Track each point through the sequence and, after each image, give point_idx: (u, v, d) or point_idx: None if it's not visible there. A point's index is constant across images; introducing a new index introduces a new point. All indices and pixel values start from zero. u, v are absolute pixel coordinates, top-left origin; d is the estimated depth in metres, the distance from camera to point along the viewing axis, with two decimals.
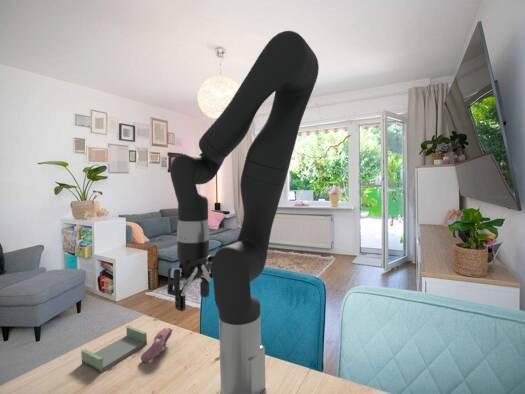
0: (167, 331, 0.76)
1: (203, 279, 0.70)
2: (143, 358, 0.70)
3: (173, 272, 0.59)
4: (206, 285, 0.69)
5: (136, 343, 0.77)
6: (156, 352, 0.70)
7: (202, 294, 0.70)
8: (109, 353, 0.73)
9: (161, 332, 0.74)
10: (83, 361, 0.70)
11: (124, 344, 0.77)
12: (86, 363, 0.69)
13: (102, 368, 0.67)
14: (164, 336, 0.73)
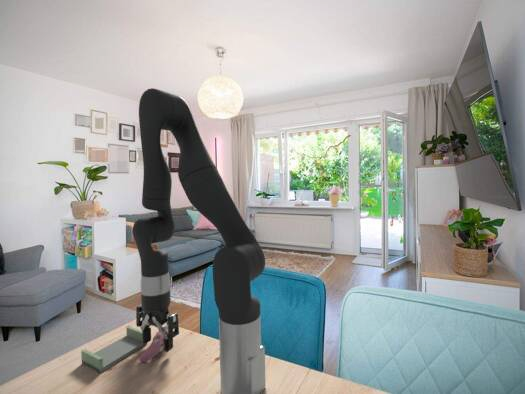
0: (166, 331, 0.75)
1: (146, 327, 0.77)
2: (141, 358, 0.70)
3: (175, 316, 0.72)
4: (150, 329, 0.78)
5: (136, 343, 0.77)
6: (154, 352, 0.70)
7: (146, 341, 0.77)
8: (109, 353, 0.73)
9: (160, 332, 0.74)
10: (83, 361, 0.70)
11: (124, 344, 0.77)
12: (86, 363, 0.69)
13: (102, 368, 0.67)
14: (163, 336, 0.73)
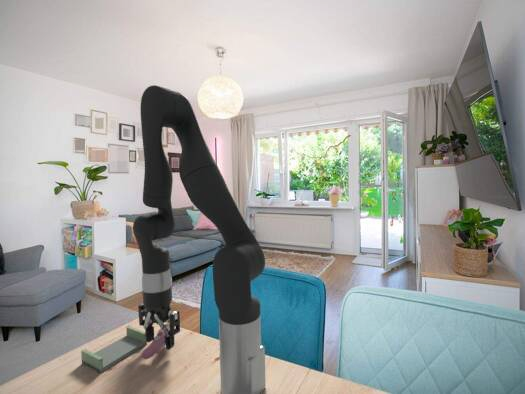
0: (168, 328, 0.75)
1: (149, 326, 0.76)
2: (143, 355, 0.70)
3: (177, 314, 0.72)
4: (153, 328, 0.77)
5: (136, 343, 0.77)
6: (156, 349, 0.70)
7: (149, 340, 0.76)
8: (109, 353, 0.73)
9: None
10: (83, 361, 0.70)
11: (124, 344, 0.77)
12: (86, 363, 0.69)
13: (102, 368, 0.67)
14: None
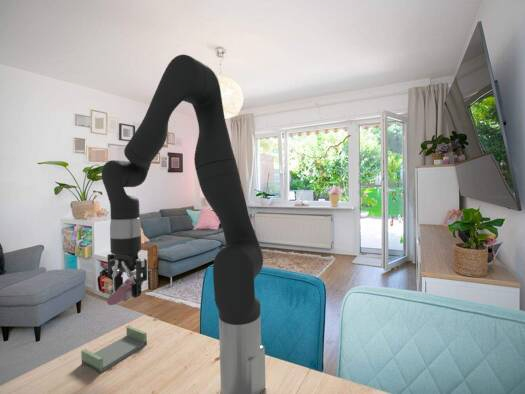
0: None
1: (117, 275, 0.76)
2: (109, 301, 0.70)
3: (144, 262, 0.71)
4: (122, 279, 0.77)
5: (136, 343, 0.77)
6: (121, 295, 0.69)
7: None
8: (109, 353, 0.73)
9: None
10: (83, 361, 0.70)
11: (124, 344, 0.77)
12: (86, 363, 0.69)
13: (102, 368, 0.67)
14: None
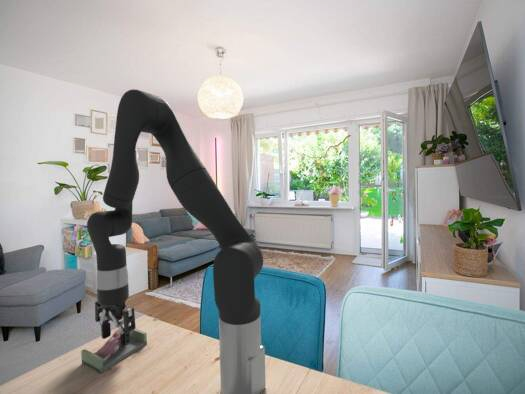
0: None
1: (104, 322, 0.76)
2: None
3: (131, 311, 0.71)
4: (109, 325, 0.77)
5: (136, 343, 0.77)
6: (108, 351, 0.69)
7: (105, 336, 0.76)
8: None
9: (118, 330, 0.74)
10: (83, 361, 0.70)
11: None
12: (86, 363, 0.69)
13: (102, 368, 0.67)
14: (119, 335, 0.72)
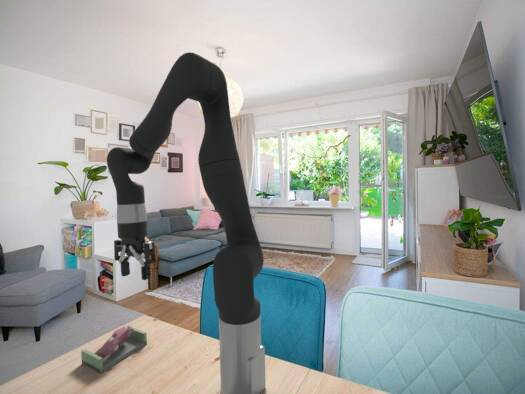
0: (124, 330, 0.75)
1: (124, 260, 0.77)
2: None
3: (151, 244, 0.73)
4: (128, 264, 0.78)
5: (136, 343, 0.77)
6: (108, 351, 0.69)
7: (125, 274, 0.77)
8: None
9: (117, 330, 0.74)
10: (83, 361, 0.70)
11: (124, 344, 0.77)
12: (86, 363, 0.69)
13: (102, 368, 0.67)
14: (119, 335, 0.72)
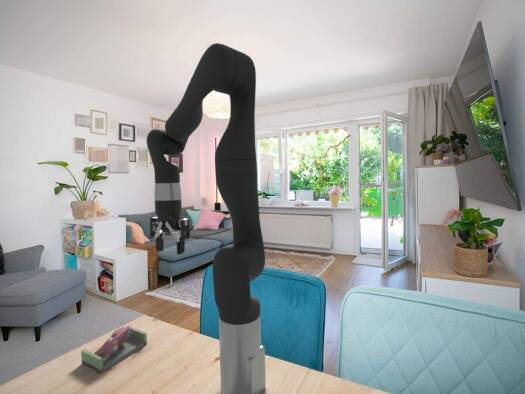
0: (123, 330, 0.74)
1: (159, 236, 0.82)
2: None
3: (186, 220, 0.77)
4: (162, 240, 0.83)
5: (136, 343, 0.77)
6: (107, 351, 0.69)
7: (159, 249, 0.82)
8: None
9: (117, 331, 0.73)
10: (83, 361, 0.70)
11: (124, 344, 0.77)
12: (86, 363, 0.69)
13: (102, 368, 0.67)
14: (118, 335, 0.72)
